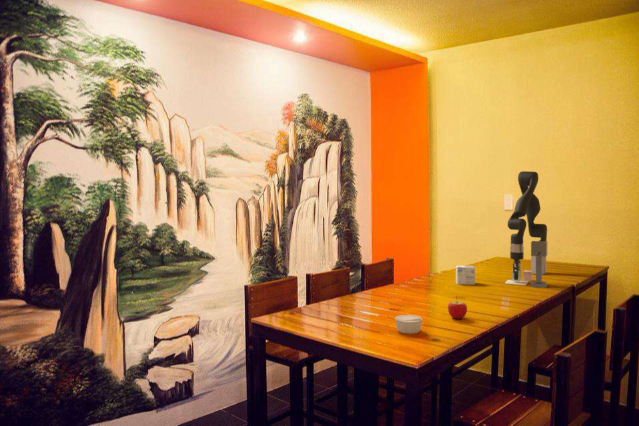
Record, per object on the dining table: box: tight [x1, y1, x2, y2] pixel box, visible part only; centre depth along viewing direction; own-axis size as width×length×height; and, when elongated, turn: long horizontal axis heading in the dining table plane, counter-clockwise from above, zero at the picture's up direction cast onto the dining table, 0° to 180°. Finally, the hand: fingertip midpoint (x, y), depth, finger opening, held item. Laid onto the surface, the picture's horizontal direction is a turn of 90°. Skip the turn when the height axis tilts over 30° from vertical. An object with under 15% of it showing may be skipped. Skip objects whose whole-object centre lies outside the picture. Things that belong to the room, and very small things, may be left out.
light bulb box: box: [455, 265, 476, 286], centre depth 304 cm, size 11×7×11 cm, turn 84°
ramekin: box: [394, 314, 423, 335], centre depth 208 cm, size 11×11×5 cm
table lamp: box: [530, 240, 548, 289], centre depth 293 cm, size 10×8×26 cm
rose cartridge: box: [522, 269, 533, 282], centre depth 311 cm, size 4×4×6 cm
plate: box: [504, 279, 530, 286], centre depth 305 cm, size 12×12×1 cm
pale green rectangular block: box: [511, 269, 522, 281], centre depth 305 cm, size 4×4×6 cm
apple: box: [447, 295, 468, 320], centre depth 226 cm, size 8×8×10 cm
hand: (516, 279), depth 305 cm, fingers closed on pale green rectangular block, 4 cm apart
